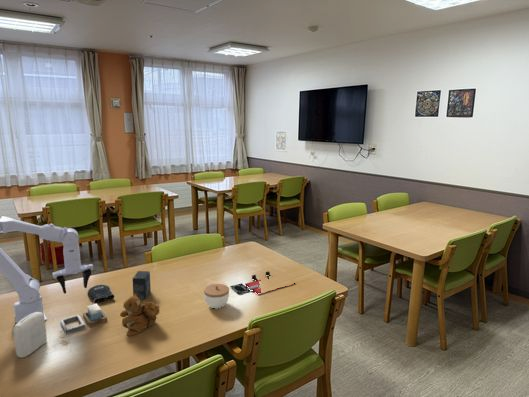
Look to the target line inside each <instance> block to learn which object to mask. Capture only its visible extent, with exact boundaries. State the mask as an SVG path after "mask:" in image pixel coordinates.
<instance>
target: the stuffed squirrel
mask: <svg viewBox="0 0 529 397" xmlns="http://www.w3.org/2000/svg"><path fill="white" fill-rule="evenodd" d="M122 308H123V309H124V310H122V311H121V312H120V314H119V315H120V317H121V318H122V320H121V323H122V325H124V326H127V328H128V330H127V331H126V336H128V337H130V336H134V335H137V334H140V333H141V332H142V331H143V330H144V329H145V328H148V327H151V326H152V325H154V324H155V323H156V319H157V318H158V316H159V314H160V311H161V310H160V307H159V306H158V305H157V304H156V303H154V302H153V301H149V302H148V301H147V302H144V304H141V300H139V298H138V297H137V294H134V296H133V295H132V296H130V297H129V298H128V299H126V300H125V301H124V302H123V307H122Z"/></svg>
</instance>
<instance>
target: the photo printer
mask: <svg viewBox="0 0 529 397" xmlns="http://www.w3.org/2000/svg"><path fill="white" fill-rule="evenodd" d="M13 337H14V338H13V339H14V345H15V347H14V348H15V354H16V356H17V357H18V358H25V357H28V356H30V355H31V354H32V353H33V352H35V351H36V350H37V349H39V348H40V347H41V346H43V345H44V344H45V343H46V342H47V339H48V337H47V330H46V321H45V318H44V315H43V313H42V312H35V313H32V314H30V315H28V316H26V317H24V318H23V319H22V320H20V321H19V322H18V323H17V324H15V325H14V327H13Z"/></svg>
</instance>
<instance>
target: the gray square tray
mask: <svg viewBox="0 0 529 397" xmlns="http://www.w3.org/2000/svg"><path fill="white" fill-rule="evenodd" d="M59 320H60V321H59V322H60V325H61V327H62V329H63V331H64V334H65V335H69V334H71V333H74V332H77V331H81V330H84V329H86V324H85V322H84V321H83V319H82V317H81V316H80V314H76V315H72V316H70V317H69V316H68V317H65V318H62V319H59ZM73 321H78V322H79V325H75V326H72V327H69V328H68V327H67V326H66V323H71V322H73Z"/></svg>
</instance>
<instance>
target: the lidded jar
mask: <svg viewBox="0 0 529 397" xmlns="http://www.w3.org/2000/svg"><path fill="white" fill-rule="evenodd" d="M203 294H204V301H205V302H206V305H207V306H209V308H210V307H211V308H210V309H212V308H215V309H214V310H219V309H218V308H220V309H222V308H223V307H224V306H225V305H226V304H227V303H228V302H229V301H228V300H229V297H230V287H229V286H227V285H226V284H223V283H213V284H209V285H207V286H206V287H205V288H204V289H203ZM221 307H222V308H221Z"/></svg>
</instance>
